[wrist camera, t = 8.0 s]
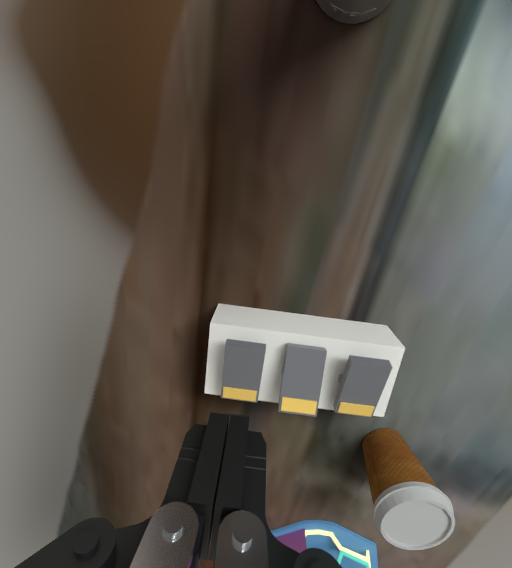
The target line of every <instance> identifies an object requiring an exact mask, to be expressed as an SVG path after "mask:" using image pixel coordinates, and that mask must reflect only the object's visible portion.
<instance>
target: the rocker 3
mask: <svg viewBox="0 0 512 568" xmlns="http://www.w3.org/2000/svg"><path fill="white" fill-rule="evenodd" d="M392 368H393V367H392V365H391V363H390V361H389V360H384V359H376V358H369V357H361V356H353V355H349V358H348V361H347V364H346V367H345V370H344V373H343V376H342V380H341V383H340V386H339V389H338V392H337V395H336V398H335V401H334V404H333V406H334V411H335V413H340V414H348V415H355V416H363V417H370V418H372V416H373V414H374V411H375V409H376V406H377V404H378V401H379V399H380V397H381V394H382V392H383V389H384V387H385V385H386V382H387V380H388V377H389V375H390V372H391V370H392Z"/></svg>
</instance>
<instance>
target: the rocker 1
mask: <svg viewBox="0 0 512 568" xmlns="http://www.w3.org/2000/svg"><path fill="white" fill-rule="evenodd" d="M265 352H266V344H263V343H255V342H248V341H240V340H232V339H226V344H225V352H224V364H223V375H222V387H221V398H225V399H233V400H240V401H248V402H255V403H257V402H258V395H259V389H260V383H261V377H262V371H263V364H264V358H265Z"/></svg>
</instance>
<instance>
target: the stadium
mask: <svg viewBox="0 0 512 568" xmlns="http://www.w3.org/2000/svg"><path fill="white" fill-rule="evenodd" d="M271 533H272V534H273V535H274V536H275V538H276V539H277V540H279V541H280V542H281V543H283V544H284V545H286V546H288V547H290V548H291V549H293V550H295V551H297V552H299V553H301V552H302V551H304V550H306V549H308V548H319V549H322V550H324V551H326V552H328V553H329V554H331V555H332V556H333V557H334V558H335V559H336V560H337V561H338V563H339V564H340V565H341V567H342V568H378V562H377V547H376V544H375V543H373V542H371V541H369V540H367V539H366V538H364V537H362V536H360V535H358V534H356V533H354V532H352V531H350V530H348V529H346V528H344V527H342V526H340V525H338V524H336V523H333V522H328V521H323V520H305V521H301V522H298V523H295V524H292V525H288V526H285V527H282V528H279V529H276V530H273V531H271Z"/></svg>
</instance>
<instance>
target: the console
mask: <svg viewBox="0 0 512 568" xmlns="http://www.w3.org/2000/svg"><path fill="white" fill-rule="evenodd" d="M226 339H232V340H240V341H248V342H255V343H263V344H266V352H265V358H264V364H263V371H262V377H261V383H260V389H259V395H258V400H259V401H267V402H275V403H278V402H279V395H280V388H281V381H282V374H283V367H284V360H285V353H286V346H287V343H293V344H301V345H308V346H316V347H323V348H325V349H326V350H327V355H326V361H325V367H324V373H323V380H322V386H321V392H320V398H319V405H318V408H320V409H328V410H334V406H333V404H334V401H335V398H336V395H337V392H338V389H339V386H340V383H341V380H342V376H343V373H344V370H345V367H346V364H347V361H348V358H349V355H353V356H361V357H369V358H376V359H384V360H389V361H390V363H391V365H392V367H393V368H392V370H391V372H390V375H389V377H388V380H387V382H386V385H385V387H384V389H383V392H382V394H381V397H380V399H379V401H378V404H377V406H376V409H375V411H374V414H373V416H381V417H384V414H385V411H386V408H387V405H388V401H389V398H390V395H391V392H392V389H393V385H394V382H395V379H396V376H397V373H398V370H399V366H400V363H401V360H402V357H403V354H404V350H405V347H404V346H403V345H402V344H401V342H400V341H399V340H398V339H397V337H396V336H395V335H394V334H393V332H392V331H391V330H390V329H389V328H388V326H387V325H380V324H372V323H364V322H357V321H349V320H341V319H334V318H326V317H318V316H311V315H303V314H295V313H288V312H280V311H272V310H265V309H257V308H249V307H242V306H234V305H226V304H219V303H218V306H217V308H216V310H215V313H214V315H213V317H212V320H211V322H210V331H209V344H208V356H207V368H206V380H205V393H206V394H214V395H221V387H222V375H223V364H224V352H225V344H226Z"/></svg>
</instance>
